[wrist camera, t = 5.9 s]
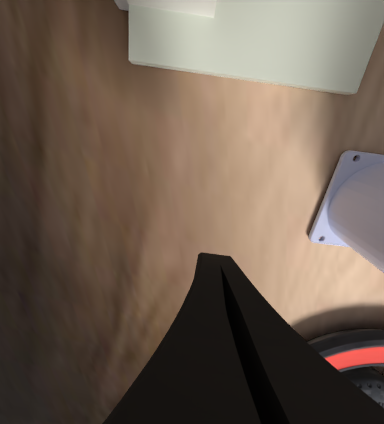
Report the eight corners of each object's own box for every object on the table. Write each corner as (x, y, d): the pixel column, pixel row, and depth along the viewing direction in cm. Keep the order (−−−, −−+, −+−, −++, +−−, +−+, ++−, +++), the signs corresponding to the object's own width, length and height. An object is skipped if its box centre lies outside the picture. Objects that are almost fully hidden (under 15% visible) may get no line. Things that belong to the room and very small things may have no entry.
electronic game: (378, 426, 32) (407, 474, 28) (236, 413, 31) (243, 460, 27) (478, 326, 23) (544, 373, 19) (284, 303, 22) (306, 347, 18)
